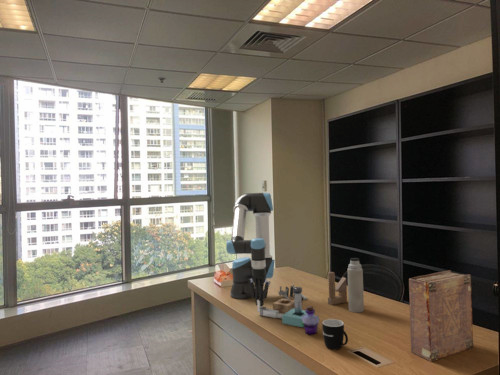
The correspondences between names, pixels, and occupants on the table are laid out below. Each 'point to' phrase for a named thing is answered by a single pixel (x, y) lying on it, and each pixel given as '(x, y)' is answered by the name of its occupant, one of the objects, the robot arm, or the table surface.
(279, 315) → the pale gray faceted bar
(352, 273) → the thermos bottle
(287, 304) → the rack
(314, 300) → the table surface
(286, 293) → the bike brake
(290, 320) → the socket block
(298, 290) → the metal flashlight
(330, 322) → the mug
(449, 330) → the book
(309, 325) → the potion bottle
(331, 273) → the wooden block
